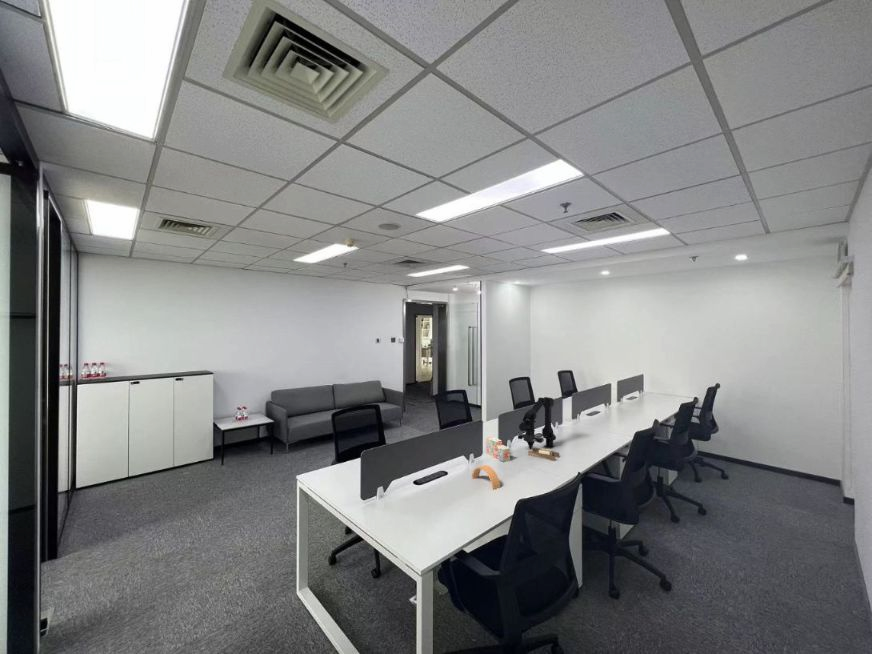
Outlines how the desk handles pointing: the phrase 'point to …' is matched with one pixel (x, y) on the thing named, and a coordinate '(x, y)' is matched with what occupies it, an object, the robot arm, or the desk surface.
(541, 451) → the block
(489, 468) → the arch
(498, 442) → the stack of blocks
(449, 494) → the desk surface
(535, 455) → the walnut chute
